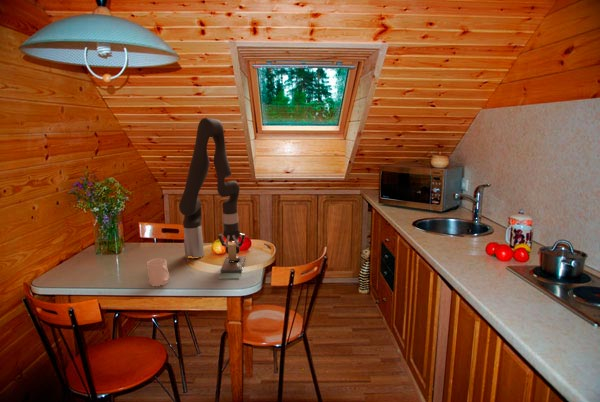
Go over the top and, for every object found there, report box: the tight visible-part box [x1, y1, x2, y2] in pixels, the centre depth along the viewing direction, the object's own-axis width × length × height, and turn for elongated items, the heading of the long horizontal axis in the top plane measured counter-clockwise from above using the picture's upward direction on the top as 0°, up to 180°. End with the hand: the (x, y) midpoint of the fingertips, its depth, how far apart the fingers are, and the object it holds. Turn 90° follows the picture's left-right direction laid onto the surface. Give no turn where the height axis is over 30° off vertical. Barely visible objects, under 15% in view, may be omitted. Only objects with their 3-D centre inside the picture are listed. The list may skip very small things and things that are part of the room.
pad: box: [219, 273, 241, 281], centre depth 202 cm, size 9×6×1 cm, turn 90°
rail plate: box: [220, 255, 247, 275], centre depth 213 cm, size 10×16×2 cm, turn 179°
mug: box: [146, 257, 170, 287], centre depth 196 cm, size 9×12×11 cm
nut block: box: [227, 241, 239, 260], centre depth 214 cm, size 4×4×8 cm
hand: (233, 253), depth 214 cm, fingers closed on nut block, 4 cm apart
